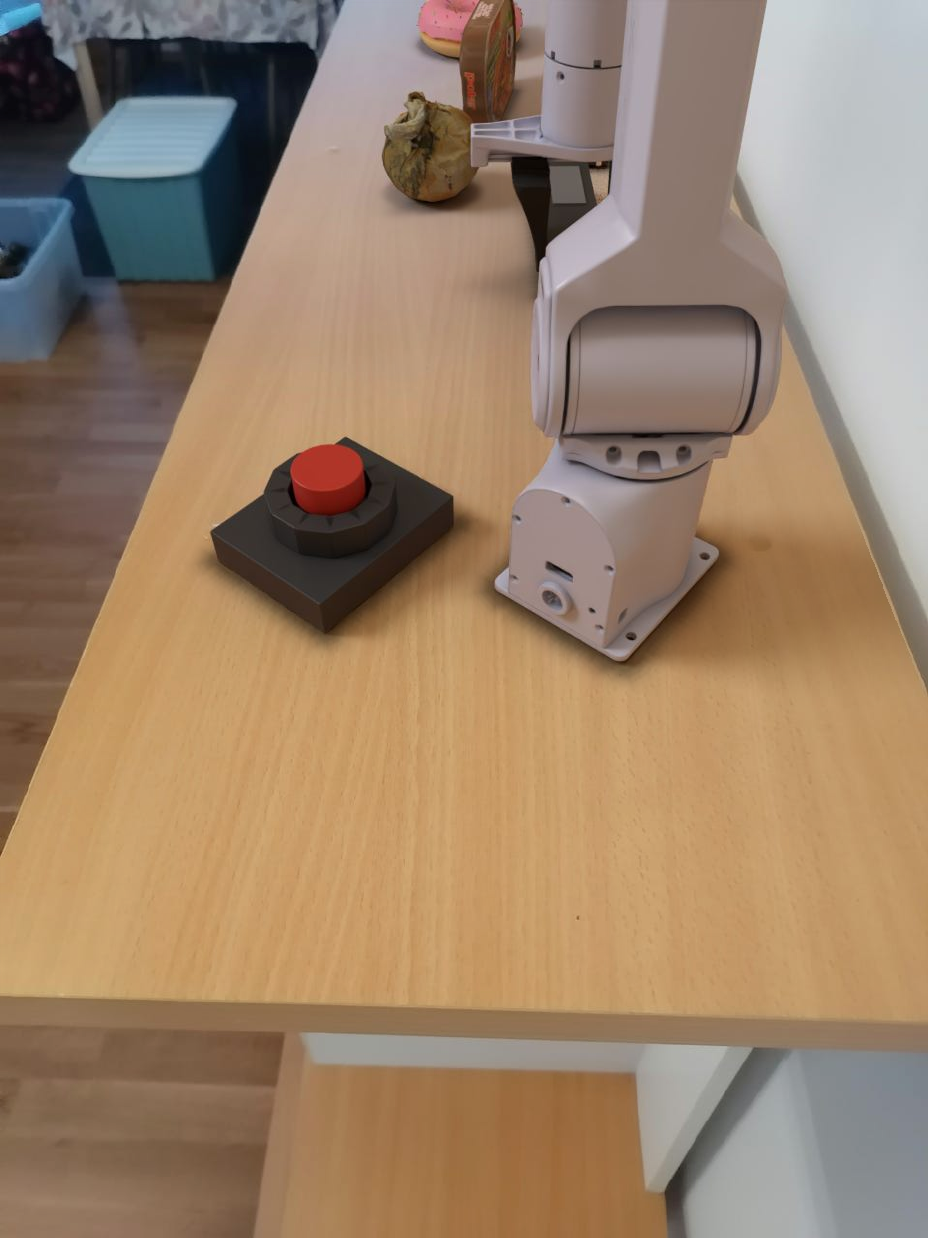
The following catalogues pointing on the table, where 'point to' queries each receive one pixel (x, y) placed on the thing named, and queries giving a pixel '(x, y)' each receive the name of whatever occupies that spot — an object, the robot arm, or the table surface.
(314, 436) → the table surface
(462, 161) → the onion
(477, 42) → the tin
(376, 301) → the table surface
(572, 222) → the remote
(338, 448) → the button
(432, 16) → the doughnut
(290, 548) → the button block
